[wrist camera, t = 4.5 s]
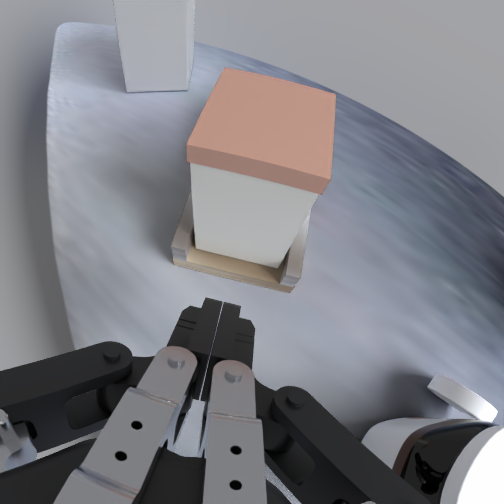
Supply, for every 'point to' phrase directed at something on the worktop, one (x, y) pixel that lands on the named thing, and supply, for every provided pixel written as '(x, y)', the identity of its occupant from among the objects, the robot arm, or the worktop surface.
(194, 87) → the worktop surface
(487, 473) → the spread jar
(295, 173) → the pink-topped white box
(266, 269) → the track
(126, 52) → the milk carton
